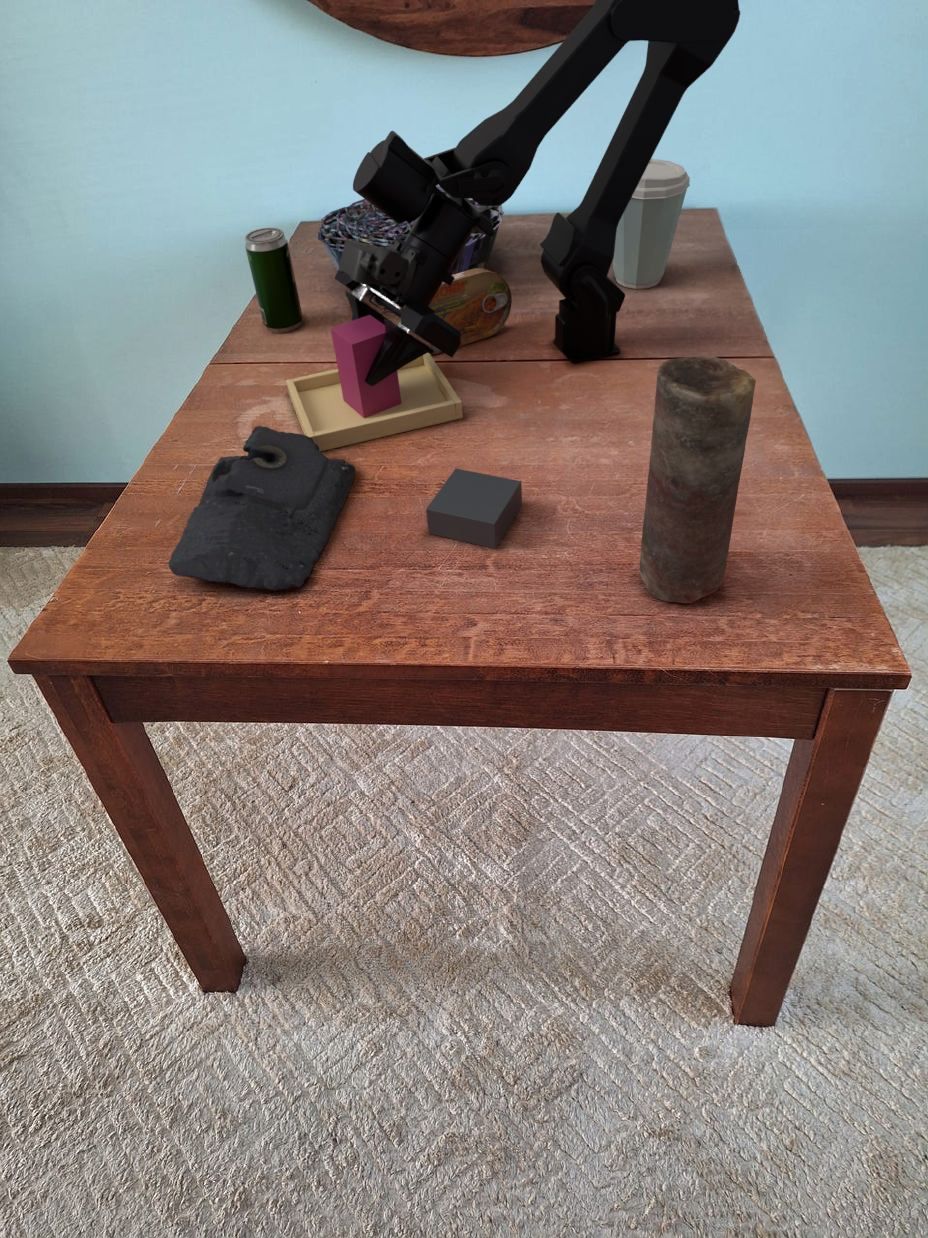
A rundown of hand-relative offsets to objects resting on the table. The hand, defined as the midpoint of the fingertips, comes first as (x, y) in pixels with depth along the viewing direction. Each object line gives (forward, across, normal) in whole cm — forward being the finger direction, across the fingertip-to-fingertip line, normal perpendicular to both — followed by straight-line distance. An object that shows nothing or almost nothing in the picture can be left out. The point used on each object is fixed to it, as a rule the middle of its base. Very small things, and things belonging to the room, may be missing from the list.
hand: (357, 374), depth 97 cm
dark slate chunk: (+16, +12, -9) cm, 22 cm away
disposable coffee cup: (-30, -5, +37) cm, 48 cm away
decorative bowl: (-14, -28, +21) cm, 37 cm away
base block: (+4, +25, +2) cm, 26 cm away
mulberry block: (+2, 0, +4) cm, 4 cm away
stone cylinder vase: (-3, +43, +9) cm, 44 cm away
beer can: (+2, -27, +5) cm, 27 cm away
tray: (+2, 0, +4) cm, 5 cm away
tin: (-9, -7, +16) cm, 20 cm away
